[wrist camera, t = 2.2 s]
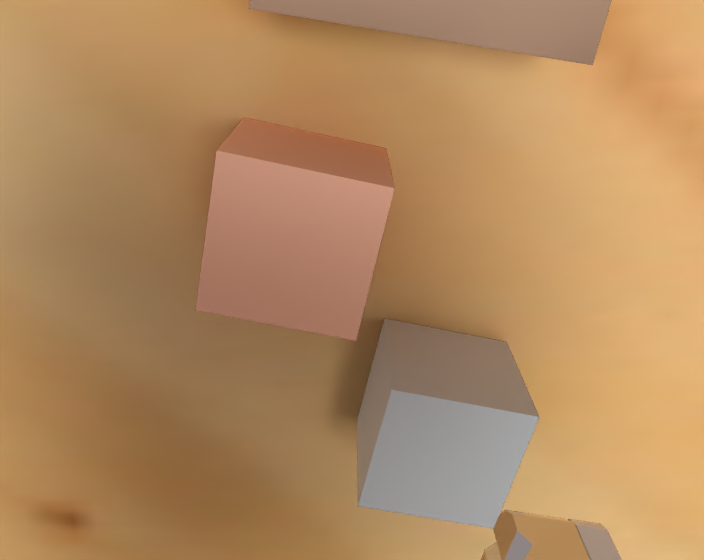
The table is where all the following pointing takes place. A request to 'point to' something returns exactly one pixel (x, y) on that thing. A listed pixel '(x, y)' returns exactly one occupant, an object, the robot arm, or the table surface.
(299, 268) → the terracotta cube
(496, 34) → the walnut base block
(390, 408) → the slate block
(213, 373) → the table surface
